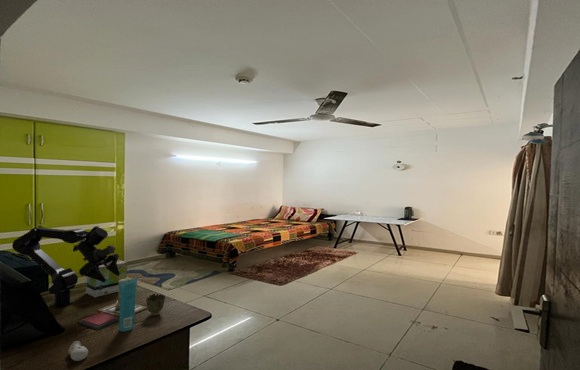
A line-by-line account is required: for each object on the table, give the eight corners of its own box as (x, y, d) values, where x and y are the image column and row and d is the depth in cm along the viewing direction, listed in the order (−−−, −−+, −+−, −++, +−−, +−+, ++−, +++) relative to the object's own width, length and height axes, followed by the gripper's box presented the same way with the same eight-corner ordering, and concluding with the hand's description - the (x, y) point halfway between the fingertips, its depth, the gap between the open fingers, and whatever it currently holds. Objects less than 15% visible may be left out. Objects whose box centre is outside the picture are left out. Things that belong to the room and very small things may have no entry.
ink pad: (79, 323, 119) (79, 319, 119) (101, 314, 127) (101, 311, 127) (97, 329, 115) (97, 326, 115) (119, 320, 123) (119, 316, 123)
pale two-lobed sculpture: (87, 363, 96) (68, 364, 93) (83, 352, 102) (65, 352, 99) (92, 349, 97) (74, 350, 93) (88, 339, 103) (71, 339, 99)
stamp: (115, 311, 130) (116, 282, 130) (117, 306, 134) (118, 278, 134) (128, 309, 132) (129, 281, 132) (129, 305, 136) (130, 278, 136)
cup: (157, 319, 125) (157, 300, 125) (141, 317, 127) (142, 298, 127) (167, 312, 132) (168, 294, 132) (153, 310, 134) (153, 292, 134)
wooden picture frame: (97, 311, 131) (97, 309, 131) (122, 301, 142) (122, 300, 142) (123, 319, 124) (123, 317, 124) (147, 308, 135) (147, 306, 135)
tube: (130, 323, 121) (132, 276, 121) (139, 326, 119) (141, 278, 119) (113, 331, 114) (115, 281, 114) (122, 334, 112) (124, 283, 112)
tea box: (95, 298, 144) (96, 267, 144) (85, 293, 150) (86, 263, 150) (126, 289, 157) (127, 261, 157) (116, 285, 162) (117, 258, 162)
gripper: (86, 244, 125) (110, 272, 124) (116, 236, 143) (137, 261, 143) (68, 261, 125) (91, 290, 125) (100, 251, 144) (120, 276, 143)
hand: (112, 278), depth 134 cm, fingers open, 9 cm apart
